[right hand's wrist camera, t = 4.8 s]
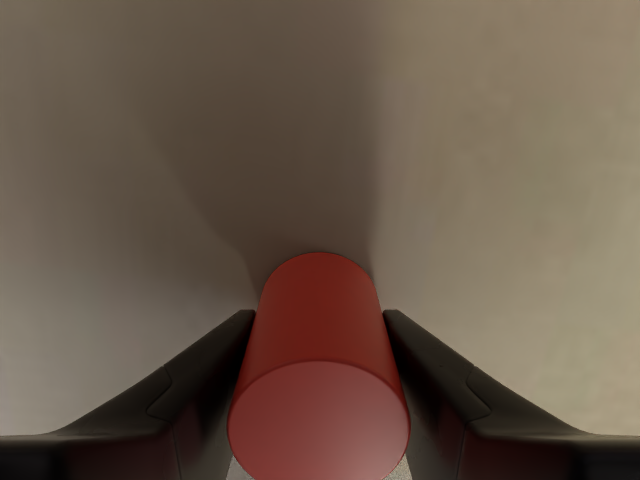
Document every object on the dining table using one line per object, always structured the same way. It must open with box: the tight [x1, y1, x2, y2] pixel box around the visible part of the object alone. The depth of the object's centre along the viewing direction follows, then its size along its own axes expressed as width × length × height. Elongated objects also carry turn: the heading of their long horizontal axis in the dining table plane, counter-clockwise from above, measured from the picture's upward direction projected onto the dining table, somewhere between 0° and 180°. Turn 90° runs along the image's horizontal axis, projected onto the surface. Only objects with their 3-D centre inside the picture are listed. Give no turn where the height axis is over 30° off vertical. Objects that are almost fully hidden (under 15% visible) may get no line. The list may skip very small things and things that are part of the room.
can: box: [226, 252, 411, 480], centre depth 10 cm, size 4×4×5 cm
